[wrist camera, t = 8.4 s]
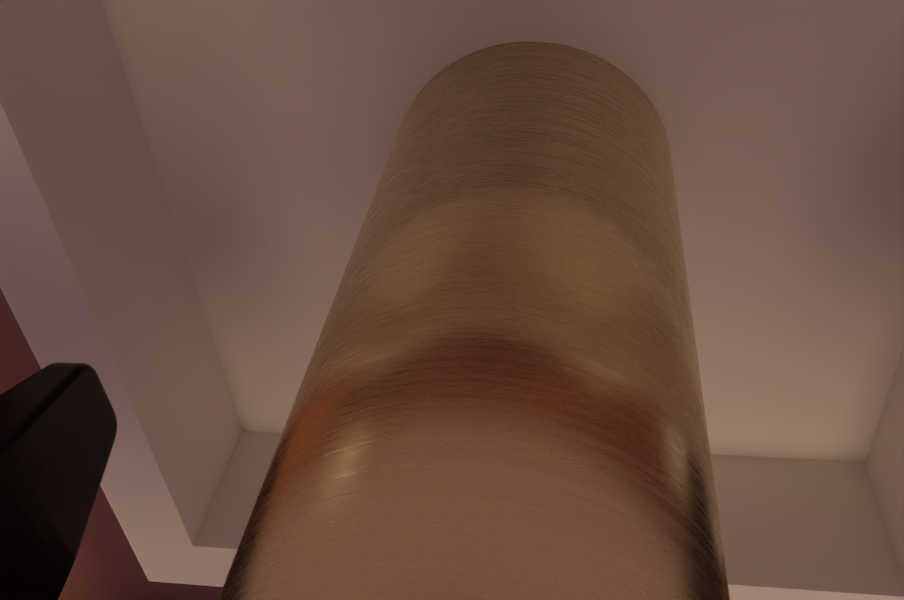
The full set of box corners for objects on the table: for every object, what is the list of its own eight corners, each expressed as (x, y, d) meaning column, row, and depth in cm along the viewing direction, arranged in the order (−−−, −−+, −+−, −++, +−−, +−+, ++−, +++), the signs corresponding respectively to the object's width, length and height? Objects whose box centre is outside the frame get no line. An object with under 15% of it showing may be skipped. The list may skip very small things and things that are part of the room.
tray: (215, 439, 18) (149, 581, 16) (-86, -393, 10) (-346, -395, 7) (908, 474, 16) (969, 645, 14) (1299, -548, 8) (1678, -636, 5)
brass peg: (410, 281, 14) (177, 1106, 6) (377, 44, 12) (-71, 926, 4) (660, 286, 13) (746, 1206, 6) (683, 36, 11) (887, 1064, 3)
